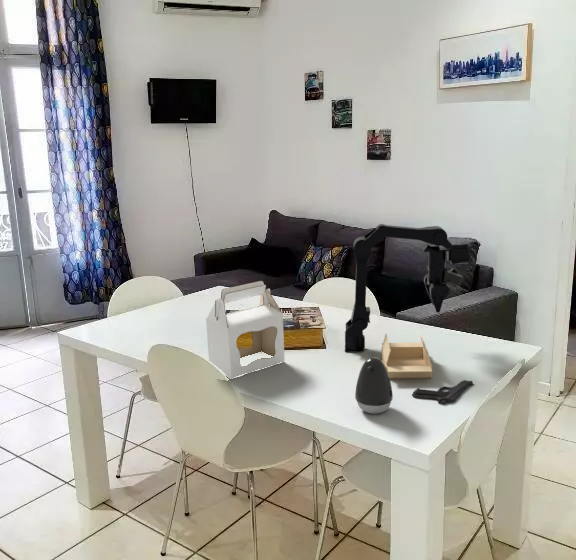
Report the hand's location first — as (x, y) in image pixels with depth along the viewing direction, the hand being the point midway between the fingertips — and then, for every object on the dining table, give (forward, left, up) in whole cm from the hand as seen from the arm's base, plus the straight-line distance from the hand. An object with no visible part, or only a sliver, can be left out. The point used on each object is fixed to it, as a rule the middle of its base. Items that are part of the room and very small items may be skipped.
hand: (436, 308), depth 212 cm
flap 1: (-19, -18, -10) cm, 28 cm away
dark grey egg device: (-24, -49, -15) cm, 57 cm away
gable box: (-64, -15, -15) cm, 68 cm away
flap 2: (-5, -18, -10) cm, 21 cm away
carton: (-12, -18, -15) cm, 26 cm away
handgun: (-3, -36, -15) cm, 39 cm away
